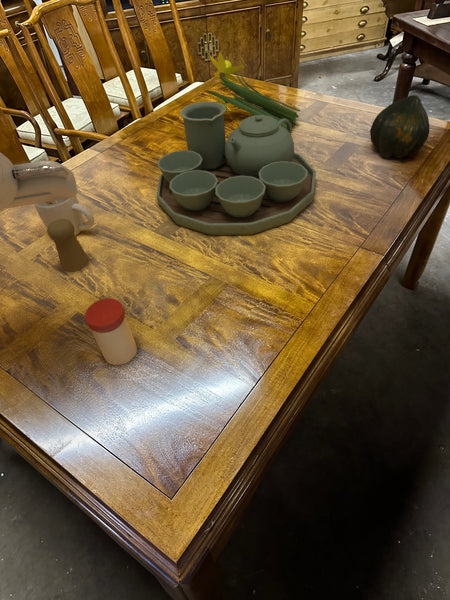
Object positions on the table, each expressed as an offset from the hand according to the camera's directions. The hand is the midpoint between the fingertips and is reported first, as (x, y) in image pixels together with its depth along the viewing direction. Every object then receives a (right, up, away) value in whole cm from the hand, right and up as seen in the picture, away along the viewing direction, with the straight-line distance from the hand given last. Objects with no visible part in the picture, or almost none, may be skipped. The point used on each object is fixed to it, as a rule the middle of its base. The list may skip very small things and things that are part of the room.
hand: (22, 204), depth 66 cm
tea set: (+35, +13, +41) cm, 56 cm away
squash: (+79, +26, +49) cm, 97 cm away
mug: (-4, +1, +34) cm, 34 cm away
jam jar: (+14, -24, +7) cm, 29 cm away
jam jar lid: (+13, -17, 0) cm, 22 cm away
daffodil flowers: (+41, +44, +71) cm, 93 cm away
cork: (0, -8, +25) cm, 26 cm away
